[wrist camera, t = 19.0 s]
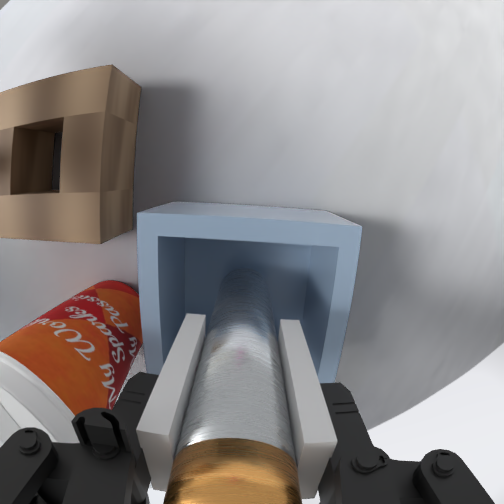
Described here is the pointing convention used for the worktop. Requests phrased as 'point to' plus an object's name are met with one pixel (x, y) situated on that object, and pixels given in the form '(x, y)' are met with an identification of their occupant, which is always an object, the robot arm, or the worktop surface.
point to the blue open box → (246, 256)
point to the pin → (237, 408)
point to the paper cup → (69, 361)
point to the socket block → (69, 157)
